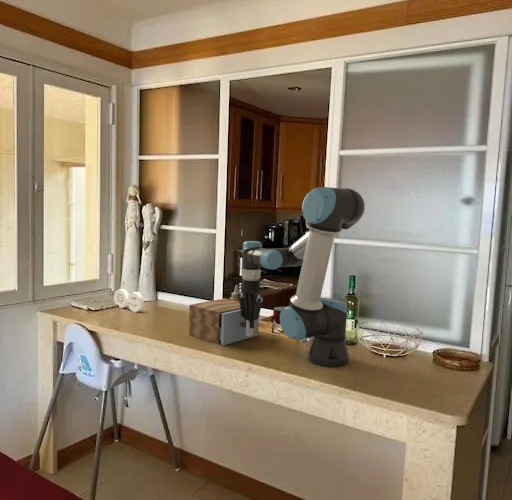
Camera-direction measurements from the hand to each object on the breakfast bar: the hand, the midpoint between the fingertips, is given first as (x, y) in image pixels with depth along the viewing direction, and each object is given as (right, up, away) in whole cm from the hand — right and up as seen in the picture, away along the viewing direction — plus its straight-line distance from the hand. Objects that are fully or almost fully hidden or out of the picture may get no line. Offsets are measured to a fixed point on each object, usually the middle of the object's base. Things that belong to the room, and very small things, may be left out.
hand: (249, 335), depth 197 cm
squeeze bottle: (-7, 0, +33) cm, 34 cm away
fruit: (-9, 0, +8) cm, 12 cm away
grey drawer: (-10, -2, +9) cm, 13 cm away
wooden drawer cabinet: (-12, -2, +11) cm, 17 cm away
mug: (+14, -2, +20) cm, 24 cm away
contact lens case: (-64, +4, +53) cm, 83 cm away
